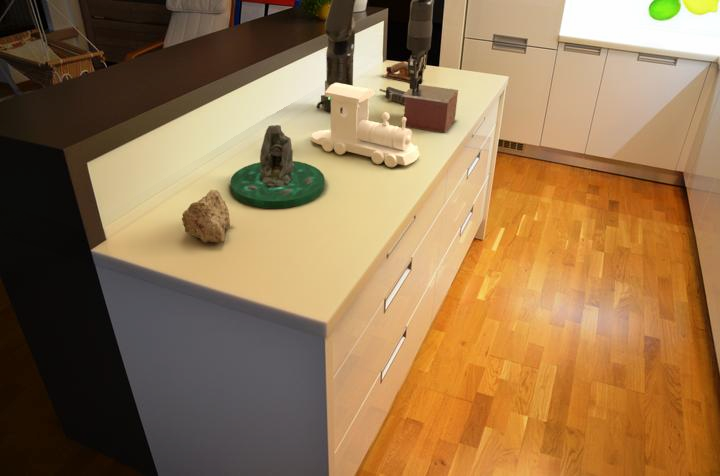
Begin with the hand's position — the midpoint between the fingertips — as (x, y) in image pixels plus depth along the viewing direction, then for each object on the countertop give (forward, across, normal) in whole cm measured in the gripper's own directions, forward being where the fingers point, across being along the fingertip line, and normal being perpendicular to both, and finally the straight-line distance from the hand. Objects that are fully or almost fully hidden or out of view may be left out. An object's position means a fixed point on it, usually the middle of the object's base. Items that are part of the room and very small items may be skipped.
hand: (415, 86), depth 200 cm
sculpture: (+12, -46, -20) cm, 52 cm away
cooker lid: (+2, 0, +5) cm, 6 cm away
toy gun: (+12, -19, -5) cm, 23 cm away
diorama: (+12, +64, -17) cm, 68 cm away
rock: (+12, +91, -18) cm, 94 cm away
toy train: (+12, +33, -6) cm, 35 cm away
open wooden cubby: (+12, 0, +6) cm, 13 cm away
